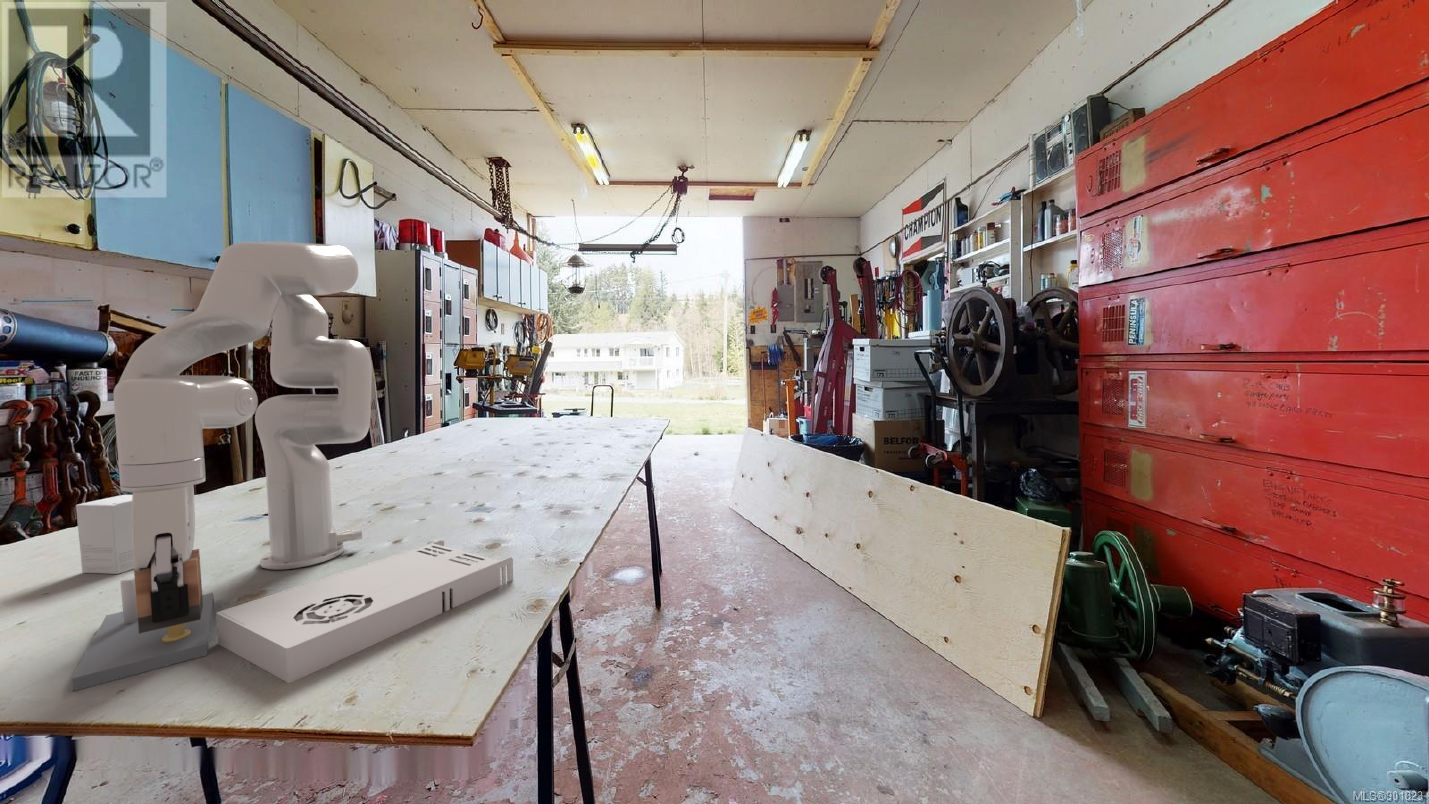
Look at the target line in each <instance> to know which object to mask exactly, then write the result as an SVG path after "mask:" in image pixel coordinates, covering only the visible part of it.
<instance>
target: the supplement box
mask: <svg viewBox="0 0 1429 804" xmlns="http://www.w3.org/2000/svg"><path fill="white" fill-rule="evenodd" d="M132 496H133V494H121V495H116V496H111V497H105V498H102V499H96V500H92V501H87V502H83V503H78V504H76V505H75V510H76V519H77V520H76V521H77V522H76V523H77V531H78V539H79V549H80V550H79V551H80V561H81V562H80V563H81V573H83V574H111V575H117V574H118V575H119V574H121V573H125V572H128V571H132V570H134V569H133V540H132Z"/></svg>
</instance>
